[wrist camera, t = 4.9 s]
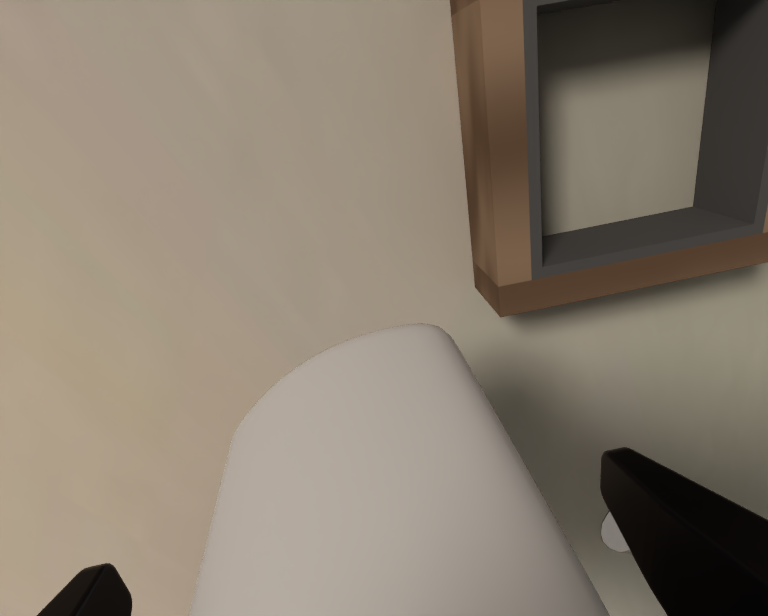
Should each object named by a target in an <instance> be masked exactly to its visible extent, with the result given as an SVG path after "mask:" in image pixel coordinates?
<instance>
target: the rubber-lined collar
mask: <svg viewBox="0 0 768 616" xmlns="http://www.w3.org/2000/svg"><path fill="white" fill-rule="evenodd" d="M614 1H620V0H450V6H451V17H452V28H453V40H454V51H455V63H456V74H457V86H458V97H459V108H460V120H461V131H462V143H463V154H464V165H465V177H466V188H467V200H468V211H469V223H470V234H471V245H472V257H473V268H474V280H475V287H476V289H477V290H478V291H479V292H480V293H481V295H482V296H483V297H484V298H485V299H486V301H487V302H488V303H489V304H490V305H491V307H492V308H493V309H494V310H495V311H496V313H497V314H498V315H499V316H500V317H505V316H509V315H514V314H519V313H524V312H529V311H533V310H538V309H543V308H548V307H553V306H558V305H562V304H567V303H572V302H577V301H582V300H587V299H591V298H596V297H601V296H606V295H611V294H616V293H620V292H625V291H630V290H635V289H640V288H645V287H649V286H654V285H659V284H664V283H669V282H674V281H678V280H683V279H688V278H693V277H698V276H703V275H707V274H712V273H717V272H722V271H727V270H732V269H736V268H741V267H746V266H751V265H756V264H761V263H765V262H768V0H717V3H716V12H715V21H714V29H713V38H712V47H711V56H710V64H709V73H708V82H707V91H706V99H705V108H704V117H703V126H702V134H701V143H700V152H699V161H698V170H697V178H696V187H695V196H694V205H693V207H689V208H684V209H679V210H674V211H669V212H664V213H659V214H654V215H649V216H644V217H639V218H634V219H629V220H624V221H619V222H614V223H609V224H604V225H599V226H594V227H589V228H584V229H579V230H574V231H569V232H564V233H559V234H554V235H549V236H544V237H542V226H541V181H540V136H539V91H538V46H537V15H539V14H545V13H551V12H556V11H562V10H568V9H574V8H579V7H585V6H591V5H597V4H602V3H608V2H614Z"/></svg>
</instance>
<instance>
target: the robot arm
mask: <svg viewBox="0 0 768 616" xmlns="http://www.w3.org/2000/svg"><path fill="white" fill-rule="evenodd" d="M600 488H601V493H602V496H603V499H604V501H605V503H606V505H607V507H608V509H609V511H610V513H611V515H612V516H613V518H614V520H615V522H616V524H617V526H618V528H619V530H620V532H621V534H622V536H623V538H624V539H625V541H626V543H627V545H628V547H629V549H630V551H631V553H632V555H633V557H634V559H635V561H636V562H637V564H638V566H639V568H640V570H641V572H642V574H643V576H644V578H645V579H646V581H647V583H648V585H649V587H650V588H651V590H652V592H653V593H654V595H655V596H656V598H657V600H658V601H659V603H660V604H661V606H662V607H663V609H664V611H665V612H666V614H667V615H668V616H768V520H767V519H765V518H763V517H761V516H759V515H757V514H755V513H753V512H751V511H750V510H748V509H746V508H744V507H742V506H740V505H738V504H736V503H734V502H732V501H730V500H728V499H726V498H724V497H723V496H721V495H719V494H717V493H715V492H713V491H711V490H709V489H707V488H705V487H703V486H701V485H699V484H698V483H696V482H694V481H692V480H690V479H688V478H686V477H684V476H682V475H680V474H678V473H676V472H674V471H672V470H671V469H669V468H667V467H665V466H663V465H661V464H659V463H657V462H655V461H653V460H651V459H649V458H647V457H645V456H644V455H642V454H640V453H638V452H636V451H634V450H632V449H630V448H626V447H622V448H618V449H613V450H609V451H605V452H604V453H603V455H602V458H601V479H600ZM131 611H132V598H131V594H130V592H129V590H128V588H127V587H126V585H125V583H124V582H123V580H122V578H121V577H120V575H119V573H118V572H117V570H116V568H115V567H114V566H113V565H111V564H110V563H105V564H101V565H96V566H92V567H88V568H85V569H83V570H82V571H80V572H79V573H78V574H77V575H76V576H75V577H74V578H73V579H72V580H71V581H70V582H69V583H68V584H67V585H66V586H65V587H64V588H63V589H62V590H61V591H60V592H59V593H58V594H57V595H56V596H55V597H54V599H53V600H52V601H51V602H50V603H49V604H48V605H47V606H46V607H45V608H44V609H43V610H42V611H41V612H40V613H39V614H38V615H37V616H131Z"/></svg>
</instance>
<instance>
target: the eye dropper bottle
mask: <svg viewBox="0 0 768 616" xmlns="http://www.w3.org/2000/svg"><path fill="white" fill-rule="evenodd" d="M189 616H610V615H609V613H608V611H607V610H606V608H605V606H604V604H603V602H602V600H601V599H600V597H599V595H598V593H597V591H596V590H595V588H594V586H593V584H592V583H591V581H590V579H589V577H588V575H587V574H586V572H585V570H584V568H583V567H582V565H581V563H580V561H579V560H578V558H577V556H576V554H575V552H574V551H573V549H572V547H571V545H570V544H569V542H568V540H567V538H566V536H565V535H564V533H563V531H562V529H561V528H560V526H559V524H558V522H557V520H556V519H555V517H554V515H553V513H552V512H551V510H550V508H549V506H548V505H547V503H546V501H545V499H544V497H543V496H542V494H541V492H540V490H539V489H538V487H537V485H536V483H535V481H534V480H533V478H532V476H531V474H530V473H529V471H528V469H527V467H526V466H525V464H524V462H523V460H522V458H521V457H520V455H519V453H518V451H517V450H516V448H515V446H514V444H513V443H512V441H511V439H510V437H509V436H508V434H507V432H506V430H505V429H504V427H503V425H502V423H501V422H500V420H499V418H498V416H497V414H496V413H495V411H494V409H493V407H492V406H491V404H490V402H489V400H488V399H487V397H486V395H485V393H484V392H483V390H482V388H481V386H480V385H479V383H478V381H477V379H476V378H475V376H474V374H473V372H472V371H471V369H470V367H469V365H468V364H467V362H466V360H465V358H464V357H463V355H462V353H461V351H460V350H459V348H458V347H457V345H456V344H455V342H454V340H453V339H452V338H451V336H450V335H449V334H447V333H446V332H445V331H444V330H443V329H441V328H440V327H438V326H434V325H429V324H423V323H419V324H408V325H402V326H396V327H391V328H387V329H383V330H378V331H375V332H371V333H368V334H364V335H361V336H359V337H356V338H353V339H350V340H347V341H345V342H342V343H340V344H338V345H335V346H333V347H331V348H329V349H327V350H325V351H323V352H321V353H319V354H317V355H315V356H314V357H312V358H310V359H309V360H307V361H306V362H304V363H302V364H301V365H300V366H298V367H297V368H295V369H294V370H292V371H291V372H290V373H288V374H287V375H286V376H284V377H283V378H282V379H281V380H279V381H278V382H277V383H276V384H275V385H274V386H273V387H271V388H270V389H269V390H268V391H267V392H266V393H265V394H264V395H263V396H262V397H261V398H260V400H259V401H258V402H257V403H256V404H255V405H254V406H253V407H252V409H251V410H250V411H249V412H248V414H247V415H246V416H245V417H244V419H243V420H242V422H241V423H240V425H239V426H238V428H237V430H236V431H235V433H234V435H233V438H232V442H231V445H230V449H229V453H228V457H227V462H226V466H225V470H224V474H223V478H222V482H221V486H220V490H219V494H218V498H217V502H216V506H215V510H214V514H213V518H212V522H211V526H210V530H209V534H208V539H207V543H206V547H205V551H204V555H203V559H202V563H201V567H200V571H199V575H198V579H197V583H196V588H195V592H194V596H193V600H192V604H191V608H190V612H189Z"/></svg>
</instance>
